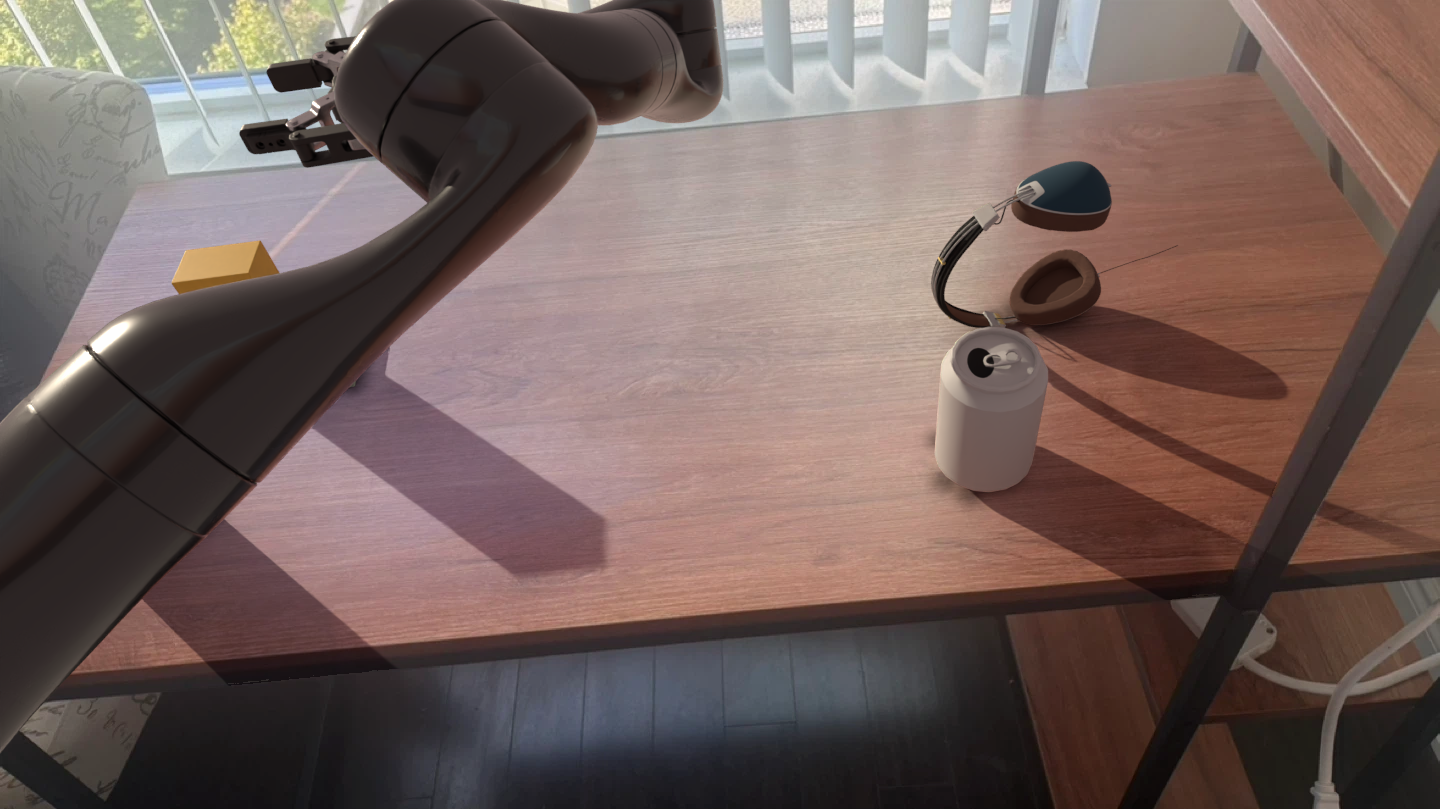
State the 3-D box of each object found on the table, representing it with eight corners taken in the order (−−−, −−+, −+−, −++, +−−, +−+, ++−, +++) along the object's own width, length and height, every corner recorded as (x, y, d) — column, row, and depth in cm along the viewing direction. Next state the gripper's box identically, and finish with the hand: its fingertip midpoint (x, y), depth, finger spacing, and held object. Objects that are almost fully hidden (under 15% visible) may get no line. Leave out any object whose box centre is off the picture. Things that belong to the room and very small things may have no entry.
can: (929, 425, 83) (936, 320, 74) (1023, 421, 82) (1042, 315, 73) (938, 500, 78) (947, 398, 69) (1038, 497, 77) (1060, 393, 68)
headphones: (1154, 248, 92) (923, 324, 92) (1177, 108, 80) (913, 194, 80) (1191, 293, 88) (949, 372, 88) (1221, 152, 76) (942, 243, 76)
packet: (297, 352, 96) (248, 273, 88) (225, 361, 96) (170, 283, 89) (307, 319, 99) (260, 239, 91) (237, 328, 99) (185, 249, 92)
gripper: (457, -11, 80) (258, 17, 81) (435, 87, 71) (209, 118, 71) (485, 74, 86) (298, 100, 86) (467, 176, 76) (258, 204, 77)
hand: (258, 108), depth 79 cm, fingers open, 8 cm apart
